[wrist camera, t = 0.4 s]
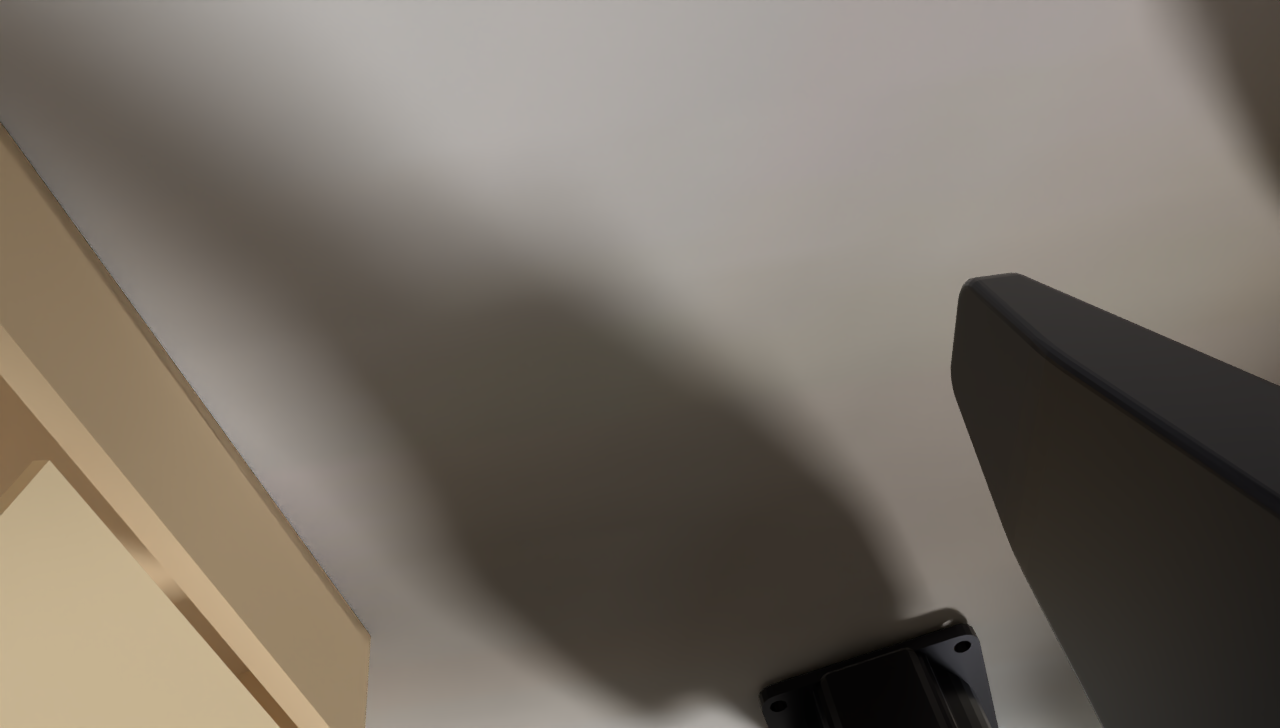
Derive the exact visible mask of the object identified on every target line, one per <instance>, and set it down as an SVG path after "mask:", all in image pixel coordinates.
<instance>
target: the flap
mask: <svg viewBox="0 0 1280 728" xmlns="http://www.w3.org/2000/svg"><path fill="white" fill-rule="evenodd" d="M0 728H280V727H279V726H278V725H277V724H276V723H275V721H274V720H273V719H272V718H271V717H270V716H269V714H268V713H267V712H266V711H265V710H264V709H263V707H262V706H261V705H260V704H259V703H258V702H257V701H256V699H255V698H254V697H253V696H252V695H251V694H250V692H249V691H248V690H247V689H246V688H245V687H244V685H243V684H242V683H241V682H240V681H239V680H238V678H237V677H236V676H235V675H234V674H233V673H232V671H231V670H230V669H229V668H228V667H227V666H226V665H225V663H224V662H223V661H222V660H221V659H220V658H219V656H218V655H217V654H216V653H215V652H214V651H213V649H212V648H211V647H210V646H209V645H208V644H207V642H206V641H205V640H204V639H203V638H202V637H201V635H200V634H199V633H198V632H197V631H196V630H195V629H194V627H193V626H192V625H191V624H190V623H189V622H188V620H187V619H186V618H185V617H184V616H183V615H182V613H181V612H180V611H179V610H178V609H177V608H176V606H175V605H174V604H173V603H172V602H171V601H170V599H169V598H168V597H167V596H166V595H165V594H164V592H163V591H162V590H161V589H160V588H159V587H158V586H157V584H156V583H155V582H154V581H153V580H152V579H151V577H150V576H149V575H148V574H147V573H146V572H145V570H144V569H143V568H142V567H141V566H140V565H139V563H138V562H137V561H136V560H135V559H134V558H133V556H132V555H131V554H130V553H129V552H128V551H127V550H126V548H125V547H124V546H123V545H122V544H121V543H120V541H119V540H118V539H117V538H116V537H115V536H114V534H113V533H112V532H111V531H110V530H109V529H108V527H107V526H106V525H105V524H104V523H103V522H102V520H101V519H100V518H99V517H98V516H97V515H96V514H95V512H94V511H93V510H92V509H91V508H90V507H89V505H88V504H87V503H86V502H85V501H84V500H83V498H82V497H81V496H80V495H79V494H78V493H77V491H76V490H75V489H74V488H73V487H72V486H71V484H70V483H69V482H68V481H67V480H66V479H65V477H64V476H63V475H62V474H61V473H60V472H59V471H58V469H57V468H56V467H55V466H54V465H53V464H52V462H51V461H50V460H34V461H32V462H31V464H30V465H29V466H28V467H27V468H26V469H25V470H24V471H23V473H22V474H21V475H20V476H19V477H18V478H17V479H16V480H15V482H14V483H13V484H12V485H11V486H10V487H9V488H8V489H7V491H6V492H5V493H4V494H3V495H2V496H1V497H0Z"/></svg>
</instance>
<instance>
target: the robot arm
mask: <svg viewBox="0 0 1280 728" xmlns="http://www.w3.org/2000/svg"><path fill="white" fill-rule="evenodd" d="M951 380H952V386H953V391H954V395H955V398H956V401H957V403H958V406H959V409H960V411H961V414H962V417H963V420H964V422H965V425H966V428H967V430H968V433H969V436H970V439H971V441H972V444H973V447H974V449H975V452H976V455H977V458H978V460H979V463H980V466H981V469H982V471H983V474H984V477H985V479H986V482H987V485H988V488H989V490H990V493H991V496H992V498H993V501H994V504H995V507H996V509H997V512H998V515H999V517H1000V520H1001V523H1002V526H1003V528H1004V531H1005V533H1006V536H1007V538H1008V541H1009V543H1010V546H1011V548H1012V551H1013V553H1014V555H1015V557H1016V559H1017V561H1018V563H1019V565H1020V567H1021V569H1022V571H1023V574H1024V576H1025V578H1026V580H1027V582H1028V584H1029V585H1030V587H1031V589H1032V591H1033V593H1034V595H1035V597H1036V599H1037V601H1038V603H1039V605H1040V607H1041V609H1042V611H1043V613H1044V615H1045V617H1046V618H1047V620H1048V622H1049V624H1050V626H1051V628H1052V630H1053V632H1054V634H1055V636H1056V638H1057V640H1058V642H1059V644H1060V646H1061V648H1062V649H1063V651H1064V653H1065V655H1066V657H1067V659H1068V661H1069V663H1070V665H1071V667H1072V669H1073V671H1074V673H1075V675H1076V677H1077V679H1078V681H1079V682H1080V684H1081V686H1082V688H1083V690H1084V692H1085V694H1086V696H1087V698H1088V700H1089V702H1090V704H1091V706H1092V708H1093V710H1094V712H1095V714H1096V715H1097V717H1098V719H1099V721H1100V723H1101V725H1102V727H1103V728H1280V386H1278V385H1276V384H1274V383H1271V382H1269V381H1267V380H1264V379H1262V378H1260V377H1257V376H1255V375H1253V374H1250V373H1248V372H1246V371H1243V370H1241V369H1239V368H1237V367H1234V366H1232V365H1230V364H1227V363H1225V362H1223V361H1220V360H1218V359H1216V358H1213V357H1211V356H1209V355H1206V354H1204V353H1202V352H1199V351H1197V350H1195V349H1193V348H1190V347H1188V346H1186V345H1183V344H1181V343H1179V342H1176V341H1174V340H1172V339H1169V338H1167V337H1165V336H1162V335H1160V334H1158V333H1155V332H1153V331H1151V330H1149V329H1146V328H1144V327H1142V326H1139V325H1137V324H1135V323H1132V322H1130V321H1128V320H1125V319H1123V318H1121V317H1118V316H1116V315H1114V314H1112V313H1109V312H1107V311H1105V310H1102V309H1100V308H1098V307H1095V306H1093V305H1091V304H1088V303H1086V302H1084V301H1082V300H1079V299H1077V298H1075V297H1072V296H1070V295H1068V294H1065V293H1063V292H1061V291H1058V290H1056V289H1054V288H1051V287H1049V286H1047V285H1045V284H1042V283H1040V282H1038V281H1035V280H1033V279H1031V278H1028V277H1026V276H1024V275H1021V274H1018V273H1005V274H998V275H990V276H983V277H975V278H971V279H969V280H968V281H966V282H965V284H964V285H963V286H962V289H961V291H960V294H959V298H958V306H957V315H956V324H955V333H954V342H953V351H952V360H951ZM759 702H760V706H761V709H762V712H763V715H764V717H765V720H766V722H767V724H768V727H769V728H998V725H997V720H996V715H995V711H994V706H993V701H992V697H991V692H990V688H989V683H988V678H987V674H986V669H985V664H984V660H983V655H982V651H981V646H980V641H979V639H978V637H977V635H976V633H975V631H974V629H973V628H972V627H971V626H969V625H967V624H959V625H954V626H951V627H948V628H945V629H942V630H939V631H936V632H933V633H930V634H927V635H923V636H920V637H917V638H914V639H911V640H908V641H905V642H902V643H899V644H896V645H893V646H890V647H887V648H883V649H880V650H877V651H874V652H871V653H868V654H865V655H862V656H859V657H856V658H853V659H850V660H846V661H843V662H840V663H837V664H834V665H831V666H828V667H825V668H822V669H819V670H816V671H813V672H809V673H806V674H803V675H800V676H797V677H794V678H791V679H788V680H785V681H782V682H779V683H776V684H773V685H770V686H768V687H766V688H764V689H763V690H762V691H761V692H760V694H759Z"/></svg>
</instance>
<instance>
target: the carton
mask: <svg viewBox="0 0 1280 728" xmlns="http://www.w3.org/2000/svg"><path fill="white" fill-rule="evenodd" d="M34 460H50V461H51V462H52V464H53V465H54V466H55V467H56V468H57V469H58V471H59V472H60V473H61V474H62V475H63V476H64V477H65V479H66V480H67V481H68V482H69V483H70V484H71V486H72V487H73V488H74V489H75V490H76V491H77V493H78V494H79V495H80V496H81V497H82V498H83V500H84V501H85V502H86V503H87V504H88V505H89V507H90V508H91V509H92V510H93V511H94V512H95V514H96V515H97V516H98V517H99V518H100V519H101V520H102V522H103V523H104V524H105V525H106V526H107V527H108V529H109V530H110V531H111V532H112V533H113V534H114V536H115V537H116V538H117V539H118V540H119V541H120V543H121V544H122V545H123V546H124V547H125V548H126V550H127V551H128V552H129V553H130V554H131V555H132V556H133V558H134V559H135V560H136V561H137V562H138V563H139V565H140V566H141V567H142V568H143V569H144V570H145V572H146V573H147V574H148V575H149V576H150V577H151V579H152V580H153V581H154V582H155V583H156V584H157V586H158V587H159V588H160V589H161V590H162V591H163V592H164V594H165V595H166V596H167V597H168V598H169V599H170V601H171V602H172V603H173V604H174V605H175V606H176V608H177V609H178V610H179V611H180V612H181V613H182V615H183V616H184V617H185V618H186V619H187V620H188V622H189V623H190V624H191V625H192V626H193V627H194V629H195V630H196V631H197V632H198V633H199V634H200V635H201V637H202V638H203V639H204V640H205V641H206V642H207V644H208V645H209V646H210V647H211V648H212V649H213V651H214V652H215V653H216V654H217V655H218V656H219V658H220V659H221V660H222V661H223V662H224V663H225V665H226V666H227V667H228V668H229V669H230V670H231V671H232V673H233V674H234V675H235V676H236V677H237V678H238V680H239V681H240V682H241V683H242V684H243V685H244V687H245V688H246V689H247V690H248V691H249V692H250V694H251V695H252V696H253V697H254V698H255V699H256V701H257V702H258V703H259V704H260V705H261V706H262V707H263V709H264V710H265V711H266V712H267V713H268V714H269V716H270V717H271V718H272V719H273V720H274V721H275V723H276V724H277V725H278V726H279V727H280V728H365V719H366V703H367V687H368V671H369V654H370V638H371V636H370V635H369V633H368V632H367V630H366V629H365V628H364V626H363V625H362V623H361V622H360V621H359V619H358V618H357V617H356V615H355V614H354V612H353V611H352V610H351V608H350V607H349V605H348V604H347V603H346V601H345V600H344V598H343V597H342V596H341V594H340V593H339V592H338V590H337V589H336V587H335V586H334V585H333V583H332V582H331V580H330V579H329V578H328V576H327V575H326V573H325V572H324V571H323V569H322V568H321V567H320V565H319V564H318V562H317V561H316V560H315V558H314V557H313V555H312V554H311V553H310V551H309V550H308V549H307V547H306V546H305V544H304V543H303V542H302V540H301V539H300V537H299V536H298V535H297V533H296V532H295V530H294V529H293V528H292V526H291V525H290V524H289V522H288V521H287V519H286V518H285V517H284V515H283V514H282V512H281V511H280V510H279V508H278V507H277V505H276V504H275V503H274V501H273V500H272V499H271V497H270V496H269V494H268V493H267V492H266V490H265V489H264V487H263V486H262V485H261V483H260V482H259V480H258V479H257V478H256V476H255V475H254V474H253V472H252V471H251V469H250V468H249V467H248V465H247V464H246V462H245V461H244V460H243V458H242V457H241V455H240V454H239V453H238V451H237V450H236V449H235V447H234V446H233V444H232V443H231V442H230V440H229V439H228V437H227V436H226V435H225V433H224V432H223V430H222V429H221V428H220V426H219V425H218V424H217V422H216V421H215V419H214V418H213V417H212V415H211V414H210V412H209V411H208V410H207V408H206V407H205V405H204V404H203V403H202V401H201V400H200V399H199V397H198V396H197V394H196V393H195V392H194V390H193V389H192V387H191V386H190V385H189V383H188V382H187V381H186V379H185V378H184V376H183V375H182V374H181V372H180V371H179V369H178V368H177V367H176V365H175V364H174V362H173V361H172V360H171V358H170V357H169V356H168V354H167V353H166V351H165V350H164V349H163V347H162V346H161V344H160V343H159V342H158V340H157V339H156V337H155V336H154V335H153V333H152V332H151V331H150V329H149V328H148V326H147V325H146V324H145V322H144V321H143V319H142V318H141V317H140V315H139V314H138V312H137V311H136V310H135V308H134V307H133V306H132V304H131V303H130V301H129V300H128V299H127V297H126V296H125V294H124V293H123V292H122V290H121V289H120V287H119V286H118V285H117V283H116V282H115V281H114V279H113V278H112V276H111V275H110V274H109V272H108V271H107V269H106V268H105V267H104V265H103V264H102V262H101V261H100V260H99V258H98V257H97V256H96V254H95V253H94V251H93V250H92V249H91V247H90V246H89V244H88V243H87V242H86V240H85V239H84V237H83V236H82V235H81V233H80V232H79V231H78V229H77V228H76V226H75V225H74V224H73V222H72V221H71V219H70V218H69V217H68V215H67V214H66V213H65V211H64V210H63V208H62V207H61V206H60V204H59V203H58V201H57V200H56V199H55V197H54V196H53V194H52V193H51V192H50V190H49V189H48V188H47V186H46V185H45V183H44V182H43V181H42V179H41V178H40V176H39V175H38V174H37V172H36V171H35V169H34V168H33V167H32V165H31V164H30V163H29V161H28V160H27V158H26V157H25V156H24V154H23V153H22V151H21V150H20V149H19V147H18V146H17V144H16V143H15V142H14V140H13V139H12V138H11V136H10V135H9V133H8V132H7V131H6V129H5V128H4V126H3V125H2V124H1V122H0V497H1V496H2V495H3V494H4V493H5V492H6V491H7V489H8V488H9V487H10V486H11V485H12V484H13V483H14V482H15V480H16V479H17V478H18V477H19V476H20V475H21V474H22V473H23V471H24V470H25V469H26V468H27V467H28V466H29V465H30V464H31V462H32V461H34Z"/></svg>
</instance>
